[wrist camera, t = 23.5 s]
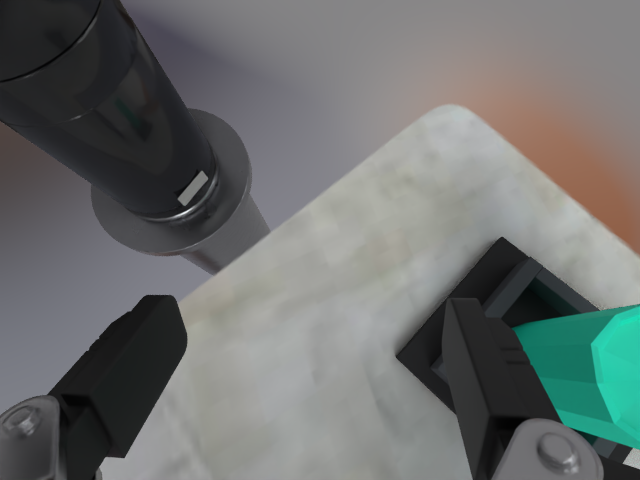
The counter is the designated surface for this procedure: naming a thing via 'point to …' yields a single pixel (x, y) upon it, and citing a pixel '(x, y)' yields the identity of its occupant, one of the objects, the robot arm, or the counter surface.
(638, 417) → the candle
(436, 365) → the dark grey square holder
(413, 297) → the counter surface
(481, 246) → the counter surface
